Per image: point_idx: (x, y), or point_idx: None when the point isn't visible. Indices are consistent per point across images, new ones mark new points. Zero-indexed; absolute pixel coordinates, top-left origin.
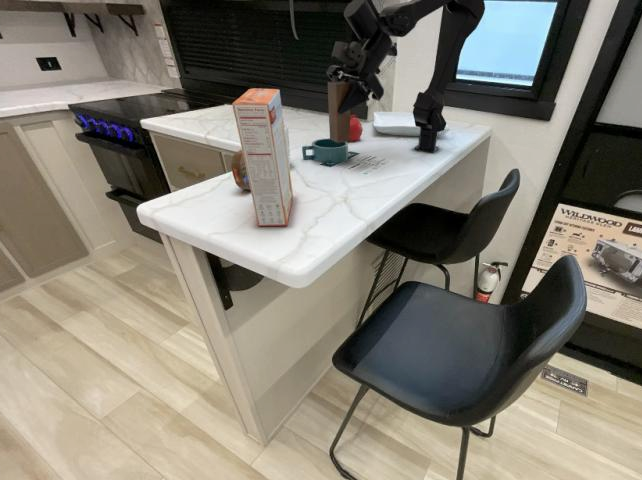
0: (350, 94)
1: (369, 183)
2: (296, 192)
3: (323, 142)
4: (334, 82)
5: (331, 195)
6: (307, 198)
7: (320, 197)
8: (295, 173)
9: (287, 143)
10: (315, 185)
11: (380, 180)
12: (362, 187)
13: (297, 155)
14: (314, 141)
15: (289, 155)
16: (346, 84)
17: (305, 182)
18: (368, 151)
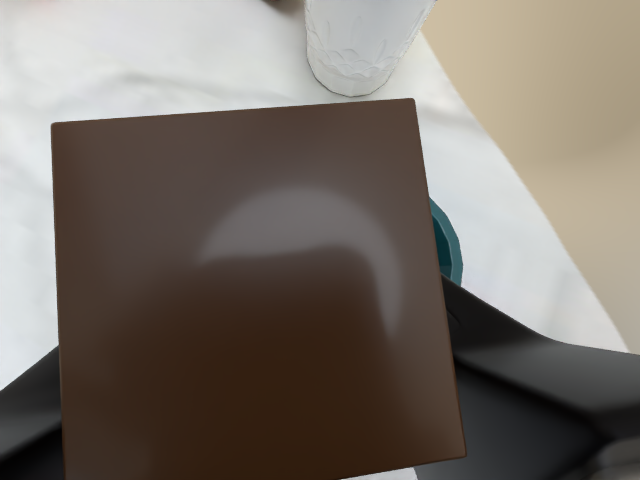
0: (30, 373)
1: (50, 283)
2: (98, 26)
3: (444, 261)
4: (331, 216)
5: (17, 111)
6: (34, 36)
7: (20, 74)
8: (268, 87)
9: (322, 20)
10: (127, 102)
11: (57, 339)
12: (28, 239)
13: (459, 168)
14: (431, 207)
15: (336, 68)
16: (68, 405)
17: (169, 84)
18: (411, 477)
